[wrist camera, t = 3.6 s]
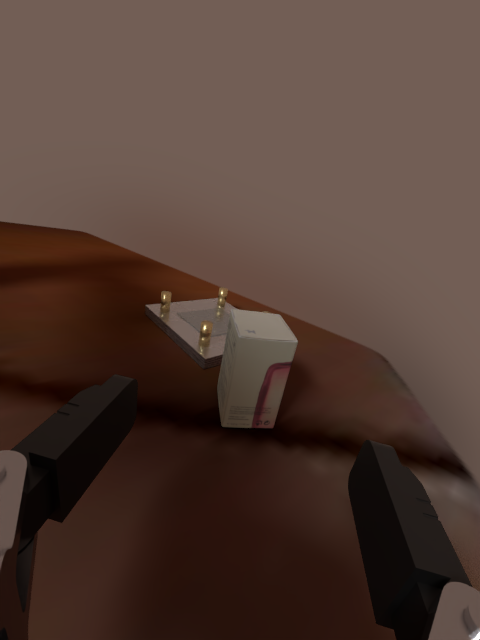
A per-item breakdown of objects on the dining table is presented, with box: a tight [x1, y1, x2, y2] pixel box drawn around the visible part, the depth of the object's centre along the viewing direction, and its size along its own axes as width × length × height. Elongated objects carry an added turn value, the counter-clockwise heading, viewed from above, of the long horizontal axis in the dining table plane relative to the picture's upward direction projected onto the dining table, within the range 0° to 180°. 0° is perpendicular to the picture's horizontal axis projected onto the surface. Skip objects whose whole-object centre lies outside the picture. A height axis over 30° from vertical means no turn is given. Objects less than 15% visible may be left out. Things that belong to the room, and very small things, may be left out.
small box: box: [217, 309, 298, 428], centre depth 22 cm, size 5×4×8 cm
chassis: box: [145, 287, 272, 369], centre depth 35 cm, size 14×12×4 cm
